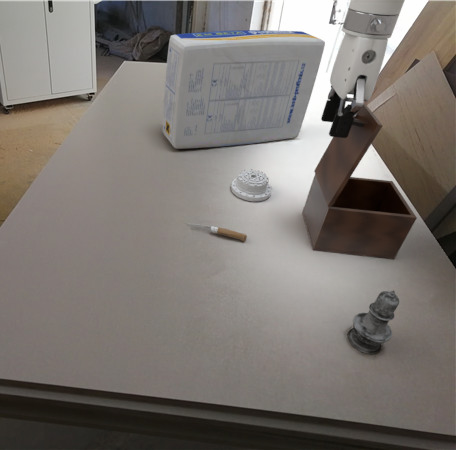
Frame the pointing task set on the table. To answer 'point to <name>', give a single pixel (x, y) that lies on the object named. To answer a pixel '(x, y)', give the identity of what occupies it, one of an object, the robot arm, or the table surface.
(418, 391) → the table surface
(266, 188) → the mechanical component
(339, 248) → the chest
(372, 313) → the dark grey chess piece
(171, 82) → the construction material bag
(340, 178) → the lid
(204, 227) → the folding knife
